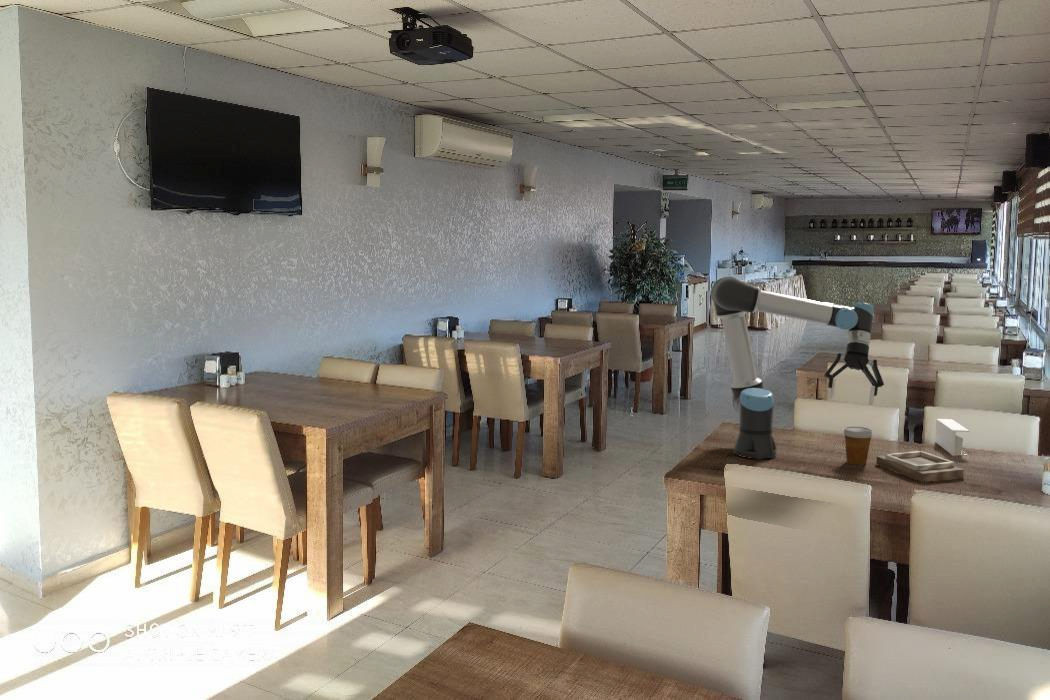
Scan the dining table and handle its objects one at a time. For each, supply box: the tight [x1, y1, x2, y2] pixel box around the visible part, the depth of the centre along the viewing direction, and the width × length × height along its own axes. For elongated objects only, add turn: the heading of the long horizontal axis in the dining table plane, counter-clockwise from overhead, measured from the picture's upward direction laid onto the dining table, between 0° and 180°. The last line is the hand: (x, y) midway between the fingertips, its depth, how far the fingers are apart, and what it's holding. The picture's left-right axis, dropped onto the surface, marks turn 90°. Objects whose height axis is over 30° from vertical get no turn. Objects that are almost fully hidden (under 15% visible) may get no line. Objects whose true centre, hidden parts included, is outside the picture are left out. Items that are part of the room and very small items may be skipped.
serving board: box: [875, 450, 965, 483], centre depth 277 cm, size 16×22×4 cm
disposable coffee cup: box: [843, 425, 874, 466], centre depth 288 cm, size 10×10×12 cm
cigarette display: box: [934, 418, 970, 456], centre depth 306 cm, size 20×6×9 cm, turn 170°
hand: (850, 400), depth 295 cm, fingers open, 13 cm apart
